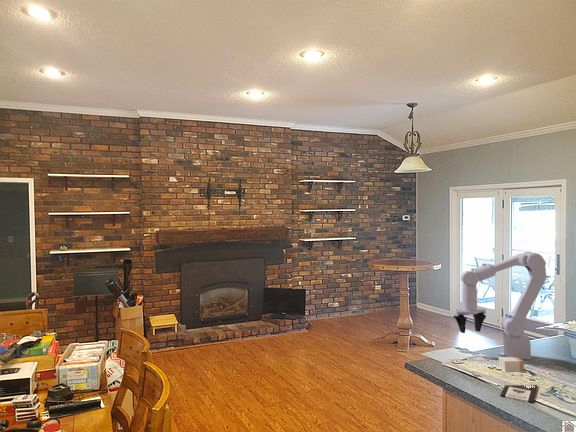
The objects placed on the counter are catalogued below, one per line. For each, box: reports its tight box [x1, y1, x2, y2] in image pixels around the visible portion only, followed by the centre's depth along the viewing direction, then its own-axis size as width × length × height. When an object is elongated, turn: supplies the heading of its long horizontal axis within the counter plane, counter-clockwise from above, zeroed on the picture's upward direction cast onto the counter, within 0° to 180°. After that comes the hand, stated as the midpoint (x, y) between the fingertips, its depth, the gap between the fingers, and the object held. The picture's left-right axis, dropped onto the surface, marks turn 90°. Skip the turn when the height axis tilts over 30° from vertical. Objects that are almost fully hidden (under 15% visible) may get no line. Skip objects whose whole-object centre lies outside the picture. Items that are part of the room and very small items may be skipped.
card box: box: [498, 356, 525, 372], centre depth 156 cm, size 4×7×4 cm, turn 90°
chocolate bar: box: [500, 384, 538, 404], centre depth 139 cm, size 9×1×18 cm
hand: (470, 331), depth 177 cm, fingers open, 7 cm apart
